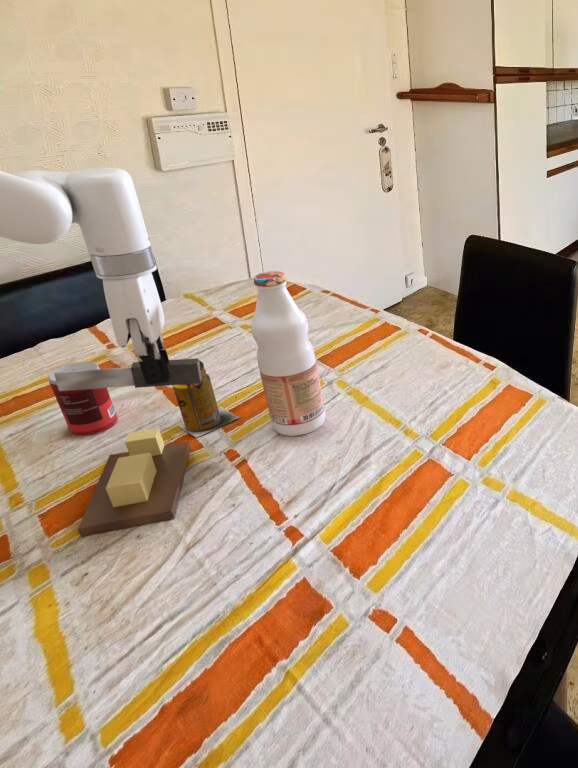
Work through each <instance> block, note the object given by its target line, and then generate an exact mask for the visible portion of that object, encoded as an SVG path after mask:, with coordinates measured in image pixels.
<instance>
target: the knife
mask: <svg viewBox="0 0 578 768" xmlns="http://www.w3.org/2000/svg"><path fill="white" fill-rule="evenodd" d="M164 361H165V365H166V368H167V372H168V375H169V381H168V382H164V383H156V384H146V383H145V379H144V376H143V373H142V370H141V367H140V364H139V361H133V362H132V363H131V366H127V367H126V366H125V367H111V368H100V369H94V370H78V371H63V372H54V375H55V379H56V382H57V385H58V389H59V391H69V390H82V389H96V388H107V389H108V388H121V387H122V388H123V387H134V388H135V389H138V388H139V389H140V388H151V387H164V386H165V387H166V386H167V387H168V386H172V385H180V384H194V383H200V382H201V378H202V376H201V370H200V365H199V361H200V360H199V358H198V357H197V358H179V359H169V360H164Z"/></svg>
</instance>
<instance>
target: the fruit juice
mask: <svg viewBox="0 0 578 768" xmlns="http://www.w3.org/2000/svg"><path fill="white" fill-rule="evenodd" d="M253 285H254V287H255V288H256V290H257V295H256V303H255V308H254V314H253V316H252V319H251V321H250V332H251V335H252V338H253V340H254V342H255V343H256V345H257V350H256V360H257V361H256V362H257V367H258V372H259V374H260V379H261V383H262V387H263V391H264V396H265V401H266V405H267V409H268V414H269V418H270V421H271V426H272V428H273V429H274V431H275V432H276V433H277V434H279V435H283V436H289V437H296V436H303V435H307V434H309V433H312V432H314V431H316V430H318V429H319V428H321V427H322V425H324V423H325V421H326V409H325V403H324V398H323V392H322V387H321V386H322V385H321V381H320V376H319V370H318V365H317V364H318V363H317V358H316V355H315V350H314V346H313V345H312V343H311V341H310V340H309V337H308V336H309V322H308V318H307V316H306V314H305V313H304V312H303V311H302V310H301V308H299V307H298V305H297V303H296V302H295V300H294V299H293V297H292V295H291V294H290V292H289V290H288V289H287V286H286V285H287V277H286V274H285V272H283V271H278V270H275V271H274V270H273V271H272V270H271V271H264V272H261V273H257V274H256V275H254V277H253Z"/></svg>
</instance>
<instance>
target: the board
mask: <svg viewBox="0 0 578 768" xmlns="http://www.w3.org/2000/svg"><path fill="white" fill-rule="evenodd" d="M191 450H192V448H191V445H190V442H189V441H184V442H178V443H173V444H166V445H164V448H163V451H162V455H157V456H152V459H153V462H154V465H155V467H156V470H157V471H156V474H155V478H154V481H153V484H152V487H151V491H150V494H149V497H148V500H147V501H145V502H140V503H134V504H129V505H124V506H118V507H113V505H112V503H111V500H110V498H109V495H108V493H107V490H106V487H107V484H108V482H109V479H110V477H111V475H112V472H113V470H114V467H115V465H116V462H117V460H118V458H121V457H127V456H130V455H129V452H128V451H126V452H125V451H123V452H119V453H113V454H109V455H108V458H107V460H106V463H105V465H104V467H103V470H102V472H101V474H100V477H99V478H98V482H97V483H96V486H95V488H94V491H93V493H92V495H91V497H90V500H89V501H88V504H87V506H86V509H85V511H84V513H83V515H82V517H81V520H80V522H79V525H78V527H77V531H78V532H79V536H80V537H87V536H93V535H97V534H102V533H108V532H112V531H117V530H122V529H127V528H132V527H138V526H142V525H148V524H152V523H158V522H164V521H168V520H174V519H175V517H176V513H177V510H178V509H177V508H178V504H179V500H180V495H181V492H182V487H183V484H184V479H185V474H186V470H187V467H188V462H189V458H190V455H191Z"/></svg>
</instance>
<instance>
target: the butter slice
mask: <svg viewBox="0 0 578 768" xmlns="http://www.w3.org/2000/svg"><path fill="white" fill-rule="evenodd" d="M124 443H125V446H126V449H127V452H129V455H130V456H133V455H139V454H145V453H151V456H157V455H162V451H163V448H164V446H165V442H164V439H163V436H162V433H161V431H160V428H159V427H155V428H149V429H143V430H136V431H129V432H128V434H127V436H126V438H125V441H124Z"/></svg>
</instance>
